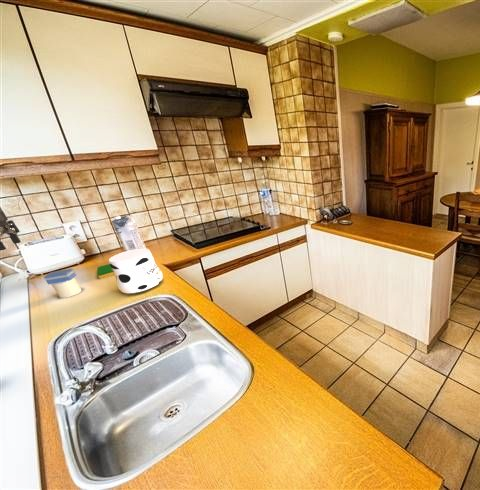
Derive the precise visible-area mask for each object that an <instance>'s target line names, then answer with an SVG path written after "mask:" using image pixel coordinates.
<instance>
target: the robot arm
mask: <svg viewBox="0 0 480 490" xmlns="http://www.w3.org/2000/svg"><path fill="white" fill-rule="evenodd" d="M20 232H21V230H20V229H19V228H18V227H17V225H16V224H15V222H14V220H12V219H10V220H9V219H8V216H7V215H6V213H5V212H4V210H3V208H2V207H1V206H0V251H5V250H7V247H6V246H5V244H4V242H3V241H2V237H3V235H7V236H9V239H10V241H11V242H12V243H13V245H14V244H20V243H21V239H20V238H19V236H18V233H20Z"/></svg>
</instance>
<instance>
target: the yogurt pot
mask: <svg viewBox="0 0 480 490" xmlns="http://www.w3.org/2000/svg"><path fill="white" fill-rule="evenodd" d="M50 285H51V286H52V288H53V290H54V291H55V292H56V295H57V296H58V297H59V299H64V298H65V299H66V298H69V297H72V296H75V295H77V294H79V293H81V292H82V288H81V286H80V285H79V283H78V281H77V279H76V278H75V277H74V278H73V279H71V280H69V281H64V282H58V283H53V284H50Z"/></svg>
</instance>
